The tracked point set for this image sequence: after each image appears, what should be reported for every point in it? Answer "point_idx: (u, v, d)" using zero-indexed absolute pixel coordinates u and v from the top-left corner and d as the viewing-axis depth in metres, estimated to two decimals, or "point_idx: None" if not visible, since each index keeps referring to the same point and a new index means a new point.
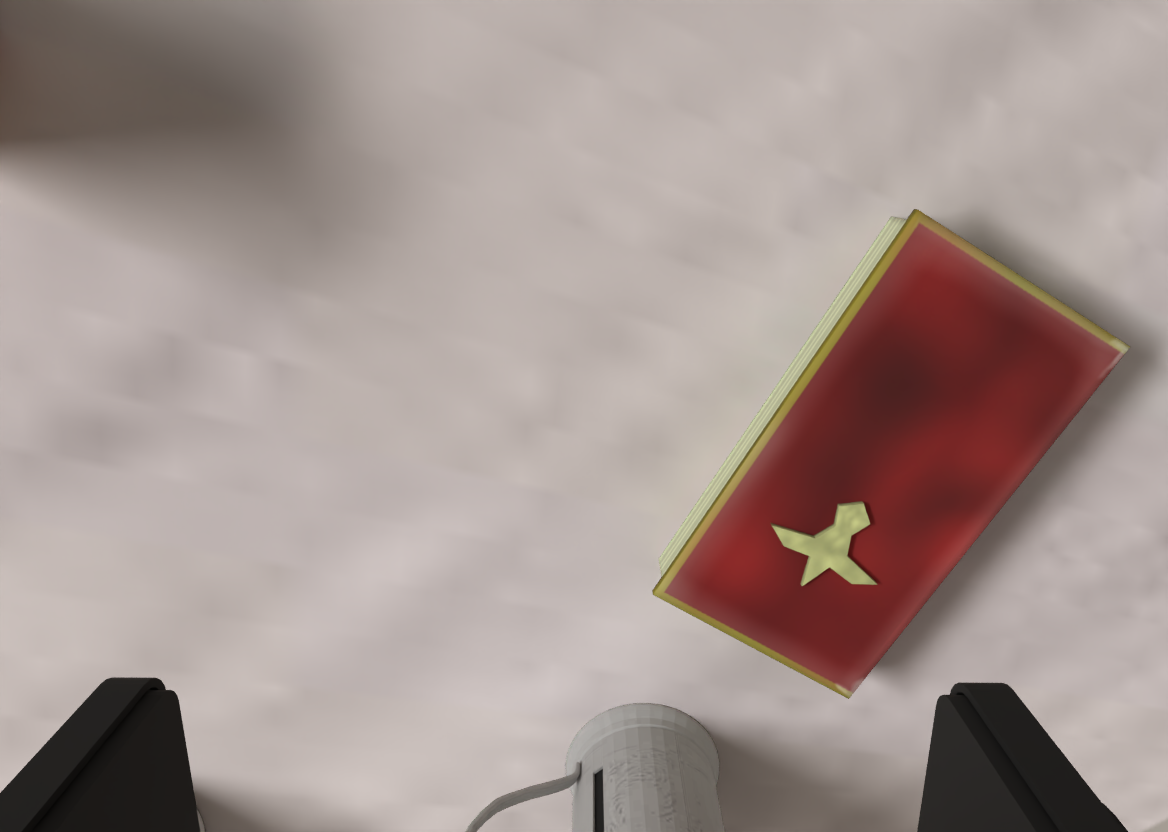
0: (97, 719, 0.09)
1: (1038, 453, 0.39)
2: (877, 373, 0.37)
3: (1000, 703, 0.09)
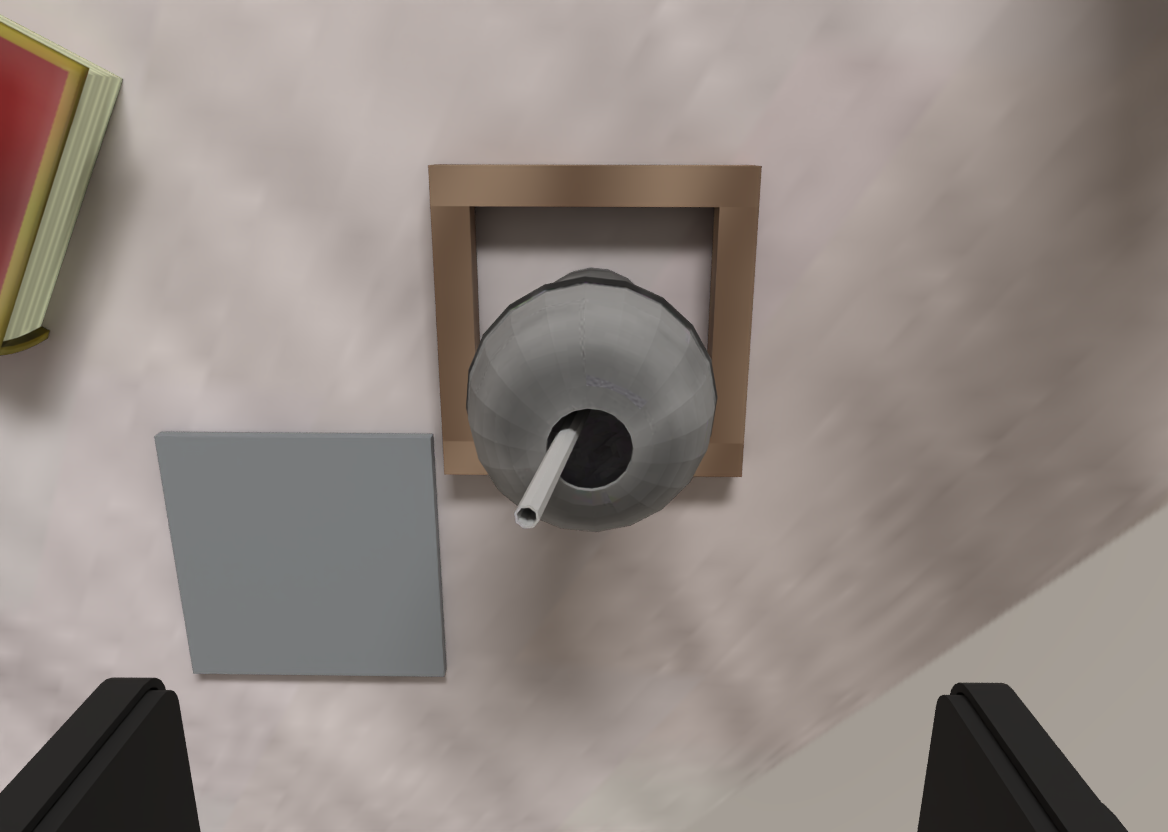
0: (98, 719, 0.09)
1: None
2: None
3: (1001, 703, 0.09)
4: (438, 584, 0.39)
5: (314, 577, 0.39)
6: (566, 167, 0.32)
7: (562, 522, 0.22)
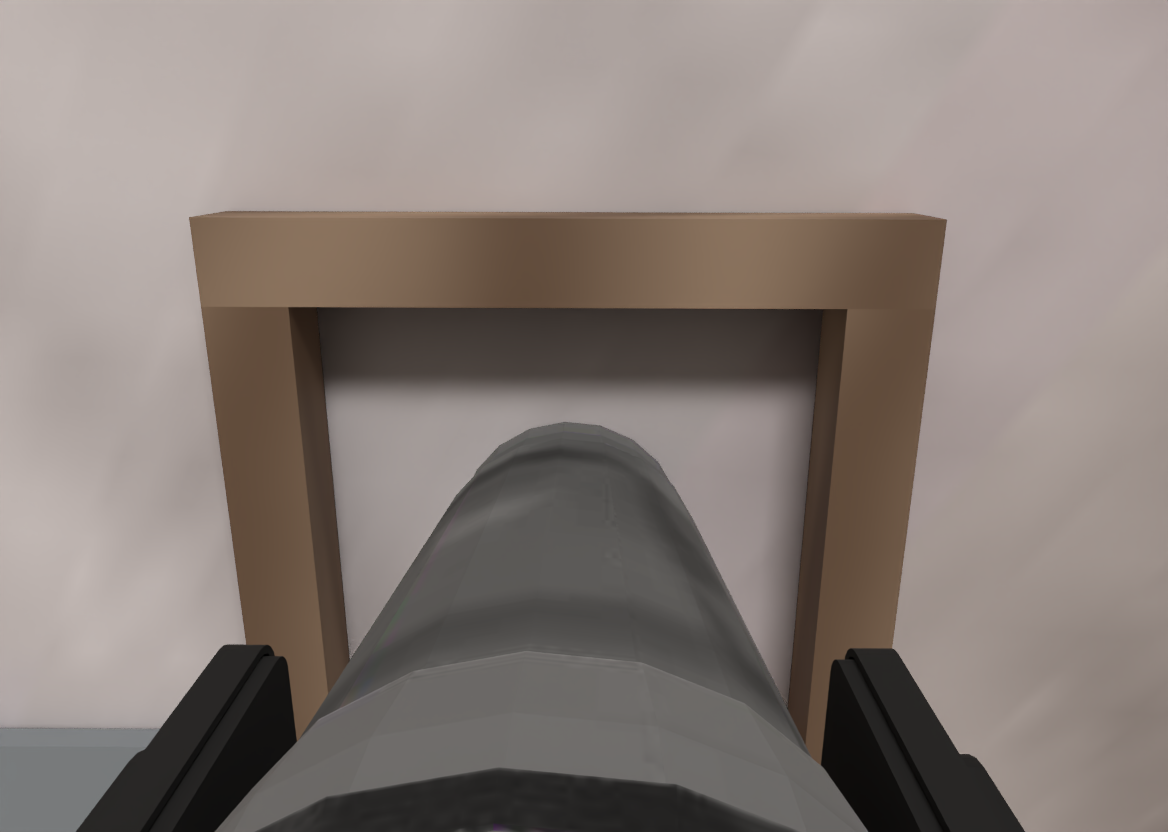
0: (223, 680, 0.10)
1: None
2: None
3: (884, 666, 0.10)
4: None
5: None
6: (503, 222, 0.14)
7: None
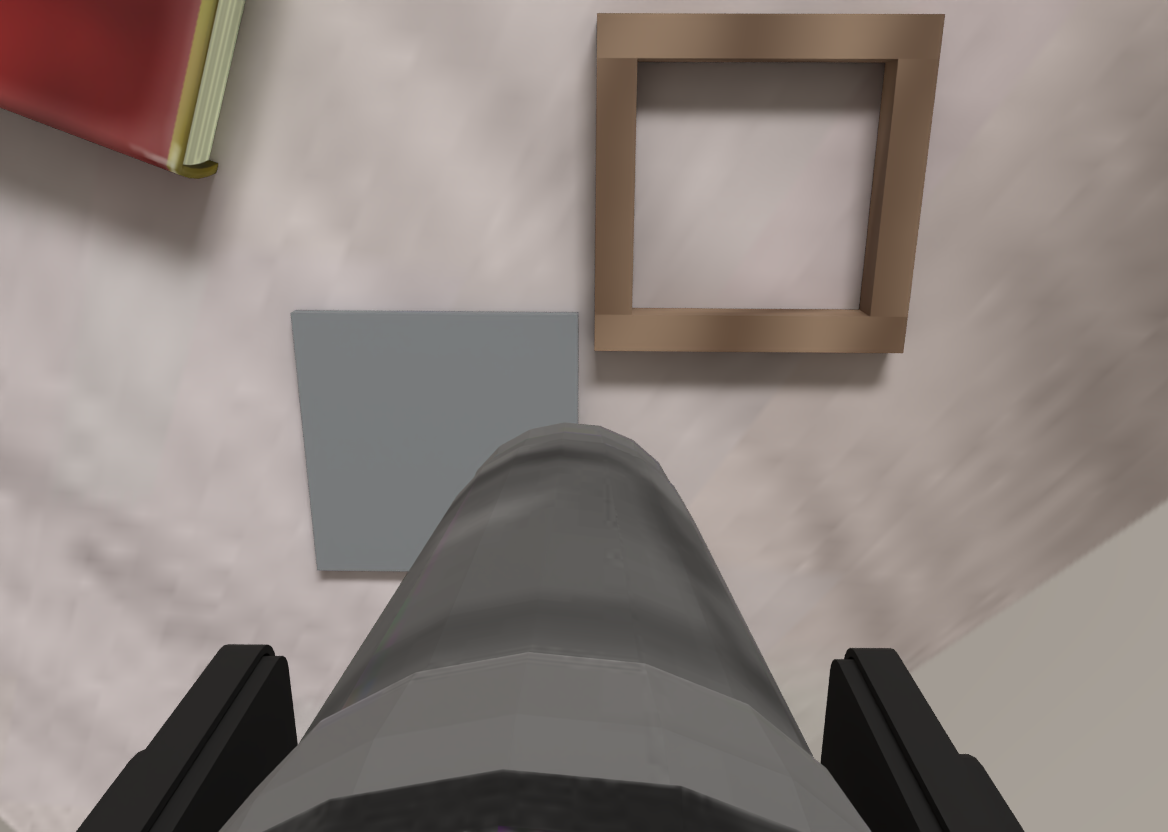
0: (224, 680, 0.10)
1: (16, 102, 0.30)
2: None
3: (883, 665, 0.10)
4: None
5: (448, 466, 0.37)
6: (741, 15, 0.31)
7: None
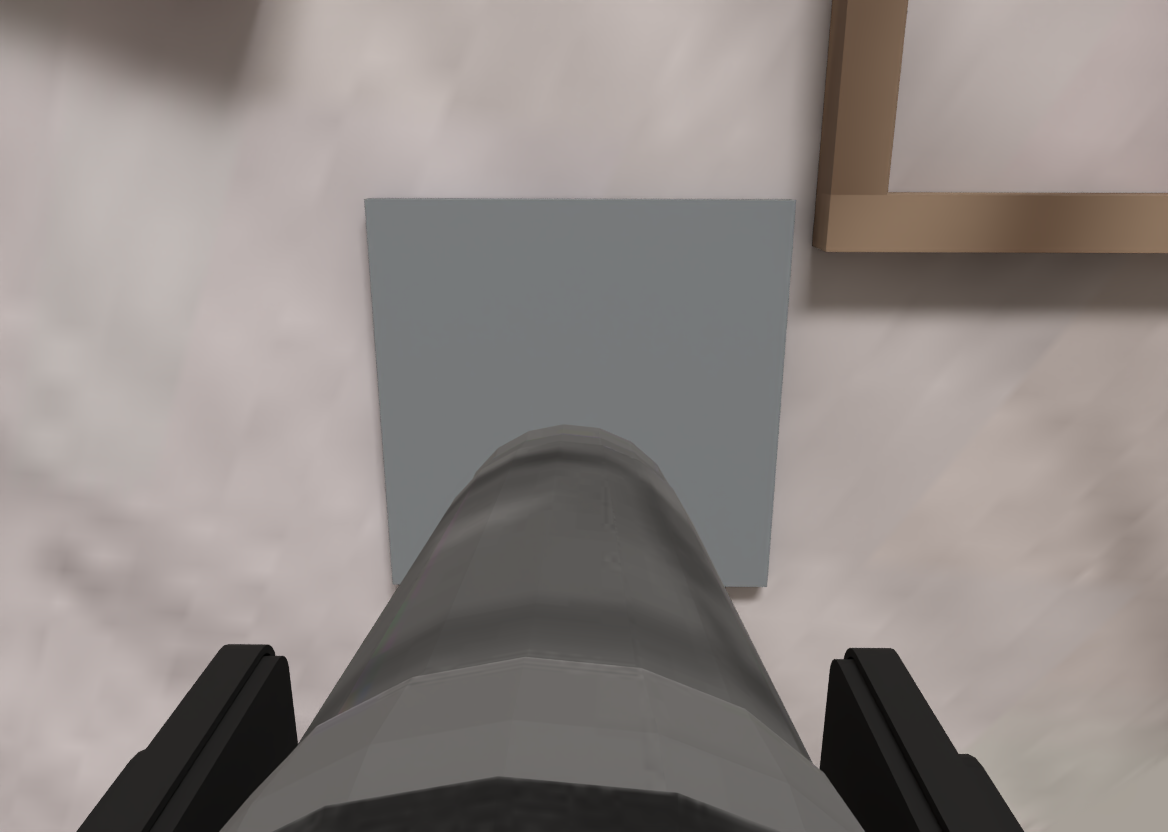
0: (224, 680, 0.10)
1: None
2: None
3: (883, 666, 0.10)
4: (776, 441, 0.26)
5: None
6: None
7: None
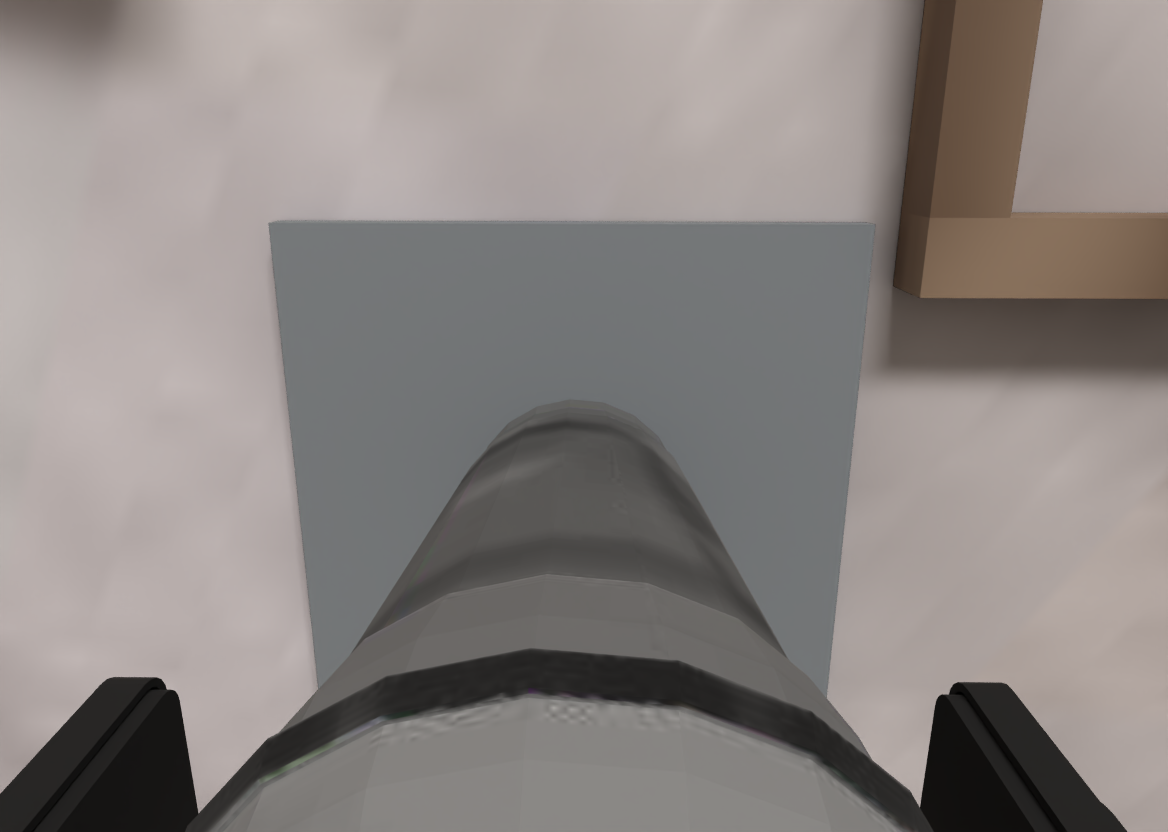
0: (99, 719, 0.09)
1: None
2: None
3: (999, 703, 0.09)
4: (840, 550, 0.19)
5: None
6: None
7: None
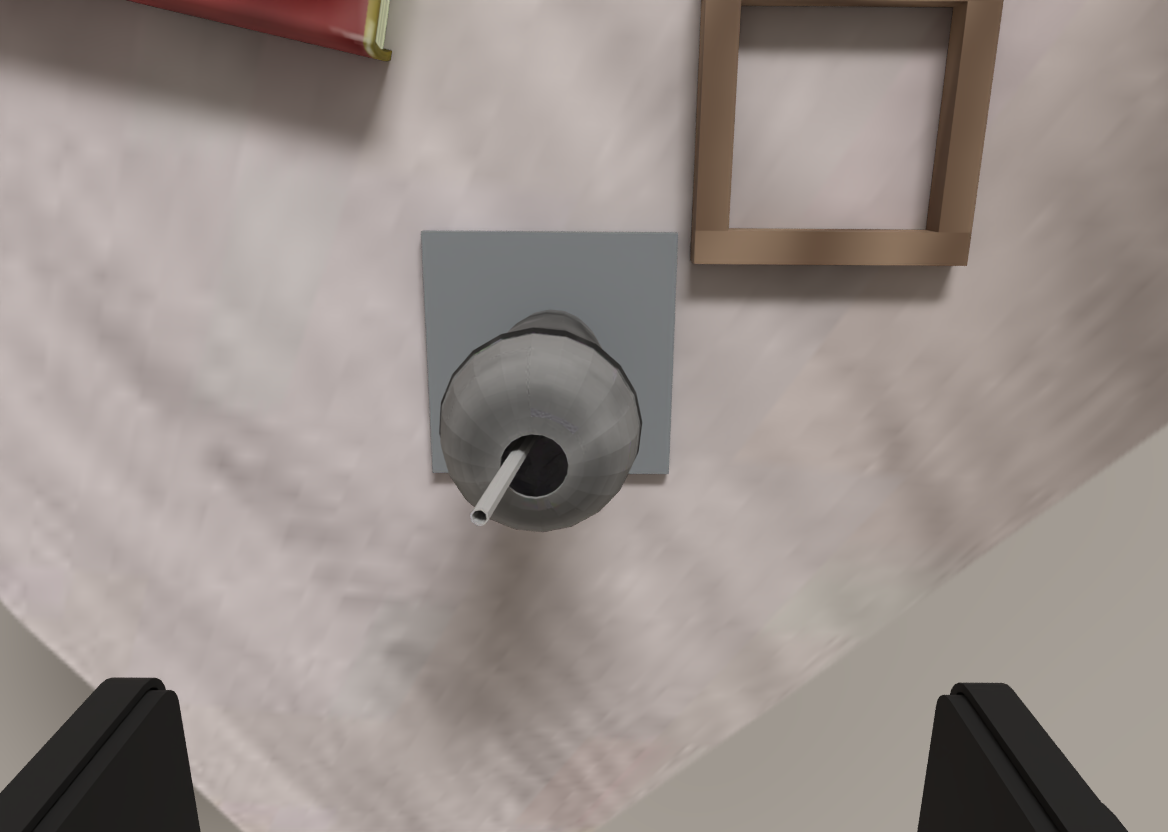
0: (98, 719, 0.09)
1: (227, 3, 0.34)
2: None
3: (1000, 703, 0.09)
4: (671, 380, 0.41)
5: None
6: None
7: (515, 524, 0.28)
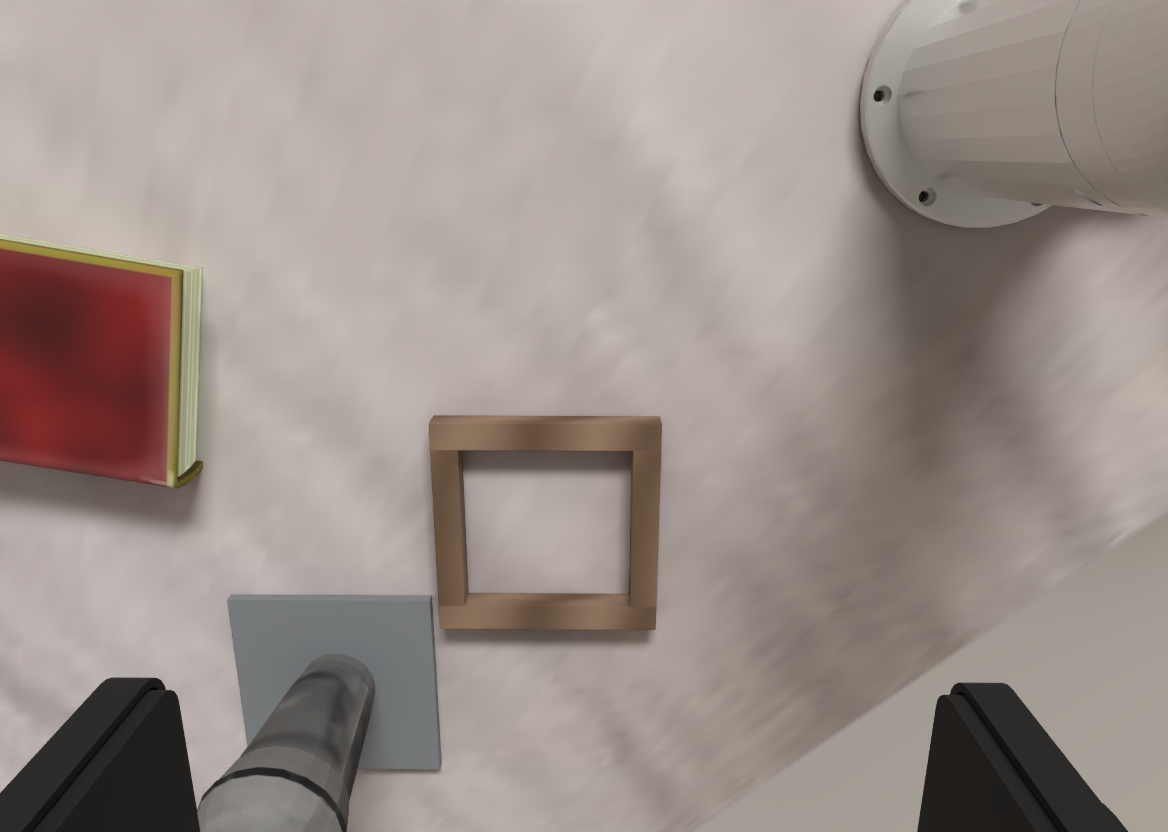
0: (97, 719, 0.09)
1: (61, 465, 0.44)
2: (44, 303, 0.42)
3: (1000, 703, 0.09)
4: (435, 703, 0.52)
5: None
6: (525, 425, 0.46)
7: None
